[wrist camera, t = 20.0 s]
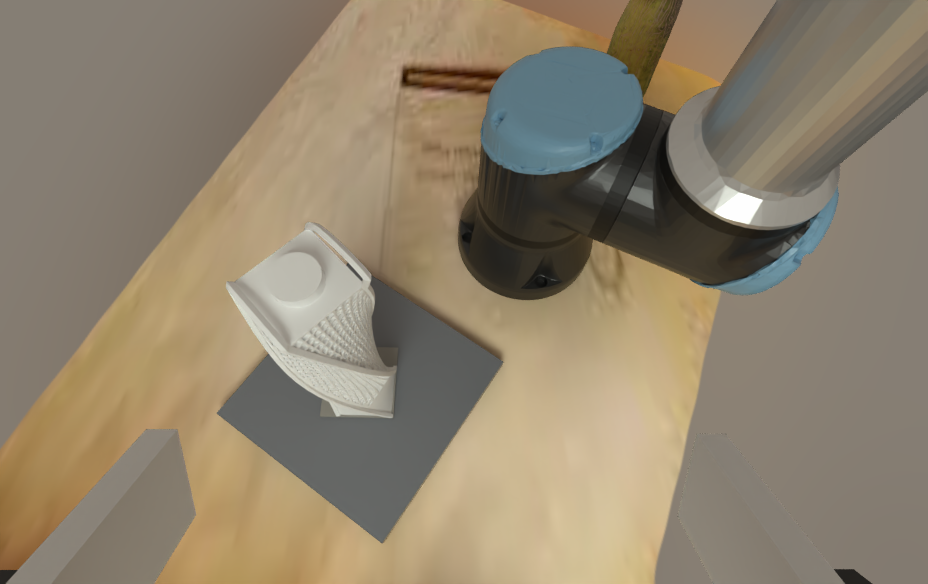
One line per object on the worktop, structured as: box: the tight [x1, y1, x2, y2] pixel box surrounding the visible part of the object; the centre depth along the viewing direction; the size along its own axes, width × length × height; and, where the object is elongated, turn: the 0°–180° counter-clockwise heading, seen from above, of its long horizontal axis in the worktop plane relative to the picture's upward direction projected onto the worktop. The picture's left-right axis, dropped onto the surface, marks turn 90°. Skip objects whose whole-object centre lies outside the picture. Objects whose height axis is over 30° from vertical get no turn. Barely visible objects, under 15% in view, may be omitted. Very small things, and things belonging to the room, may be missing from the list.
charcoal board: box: [217, 263, 503, 543], centre depth 51 cm, size 20×20×2 cm
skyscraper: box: [226, 222, 398, 418], centre depth 37 cm, size 8×8×28 cm
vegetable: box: [607, 0, 683, 97], centre depth 58 cm, size 6×6×20 cm
